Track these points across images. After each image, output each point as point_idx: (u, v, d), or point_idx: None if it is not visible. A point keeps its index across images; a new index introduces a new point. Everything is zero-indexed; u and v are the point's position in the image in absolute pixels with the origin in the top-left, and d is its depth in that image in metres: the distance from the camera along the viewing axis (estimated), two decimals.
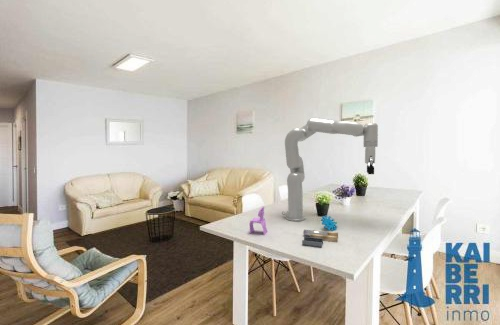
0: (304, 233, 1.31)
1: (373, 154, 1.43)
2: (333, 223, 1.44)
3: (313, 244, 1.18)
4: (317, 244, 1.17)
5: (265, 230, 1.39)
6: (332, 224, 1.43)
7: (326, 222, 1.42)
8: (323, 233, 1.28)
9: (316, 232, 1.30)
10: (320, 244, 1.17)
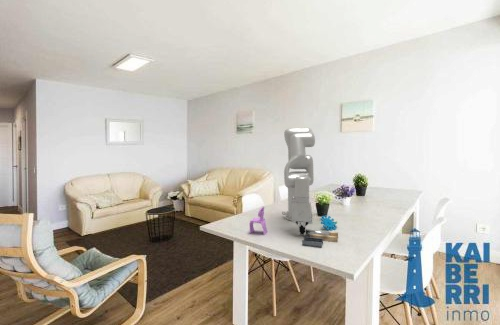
0: (306, 232, 1.32)
1: (311, 210, 1.32)
2: (333, 223, 1.44)
3: (313, 244, 1.18)
4: (317, 244, 1.17)
5: (265, 230, 1.39)
6: (331, 224, 1.43)
7: (325, 222, 1.43)
8: (325, 232, 1.29)
9: (318, 231, 1.30)
10: (320, 244, 1.17)
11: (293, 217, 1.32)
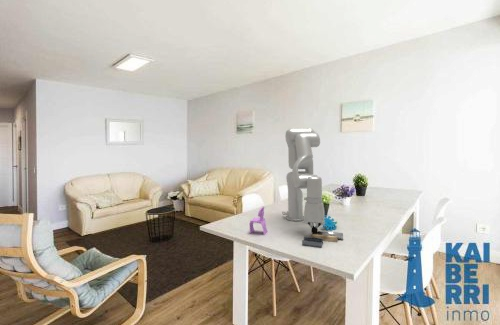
0: (319, 233, 1.29)
1: None
2: (332, 223, 1.44)
3: (313, 244, 1.18)
4: (317, 244, 1.17)
5: (265, 230, 1.39)
6: (331, 224, 1.43)
7: (325, 222, 1.43)
8: (338, 233, 1.27)
9: (331, 232, 1.28)
10: (320, 244, 1.17)
11: (305, 218, 1.30)
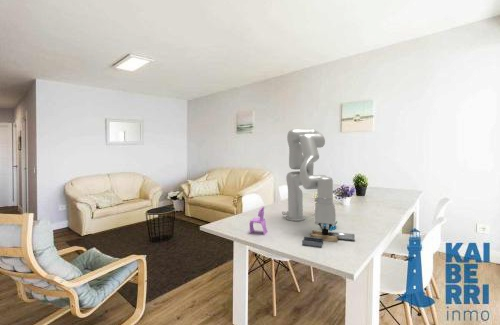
0: (330, 234, 1.27)
1: None
2: None
3: (313, 244, 1.18)
4: (317, 244, 1.17)
5: (265, 230, 1.39)
6: None
7: None
8: (350, 234, 1.25)
9: (342, 233, 1.26)
10: (320, 244, 1.17)
11: (316, 219, 1.28)
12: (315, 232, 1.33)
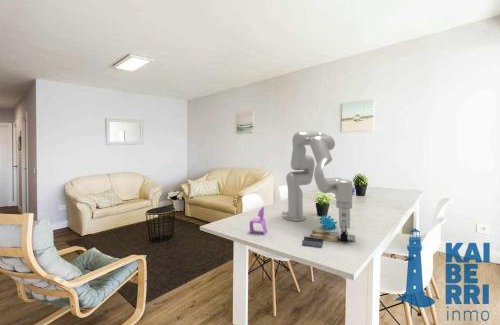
0: (330, 235, 1.27)
1: None
2: (332, 223, 1.45)
3: (313, 244, 1.18)
4: (317, 244, 1.17)
5: (265, 230, 1.39)
6: (331, 223, 1.44)
7: (324, 221, 1.44)
8: (350, 236, 1.23)
9: None
10: (320, 244, 1.17)
11: (349, 225, 1.21)
12: (315, 232, 1.33)
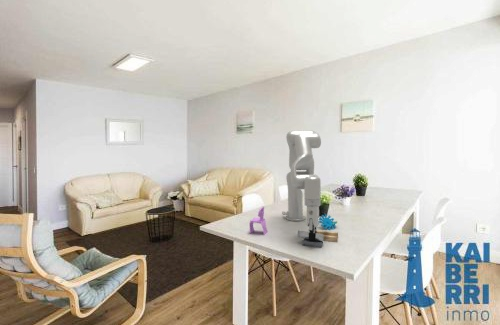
0: (298, 234, 1.22)
1: None
2: (332, 222, 1.45)
3: (313, 244, 1.18)
4: (317, 244, 1.17)
5: (265, 230, 1.39)
6: (330, 223, 1.44)
7: (324, 221, 1.45)
8: (319, 235, 1.19)
9: None
10: (320, 244, 1.17)
11: (317, 223, 1.16)
12: None
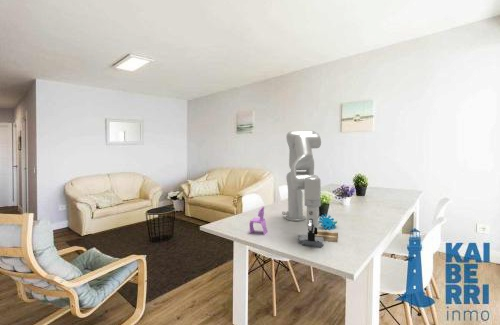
0: (298, 238, 1.22)
1: None
2: (332, 222, 1.45)
3: (313, 244, 1.18)
4: (317, 244, 1.17)
5: (265, 230, 1.39)
6: (330, 223, 1.44)
7: (324, 221, 1.45)
8: (319, 238, 1.19)
9: None
10: (320, 244, 1.17)
11: (317, 224, 1.16)
12: None
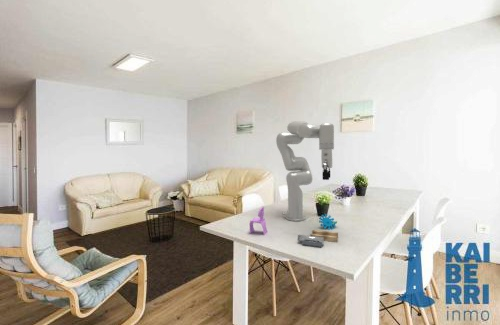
0: (298, 238, 1.22)
1: None
2: (332, 222, 1.45)
3: (313, 244, 1.18)
4: (317, 244, 1.17)
5: (265, 230, 1.39)
6: (330, 223, 1.45)
7: (324, 221, 1.45)
8: (319, 238, 1.19)
9: (311, 237, 1.20)
10: (320, 244, 1.17)
11: (331, 164, 1.30)
12: (315, 232, 1.33)
